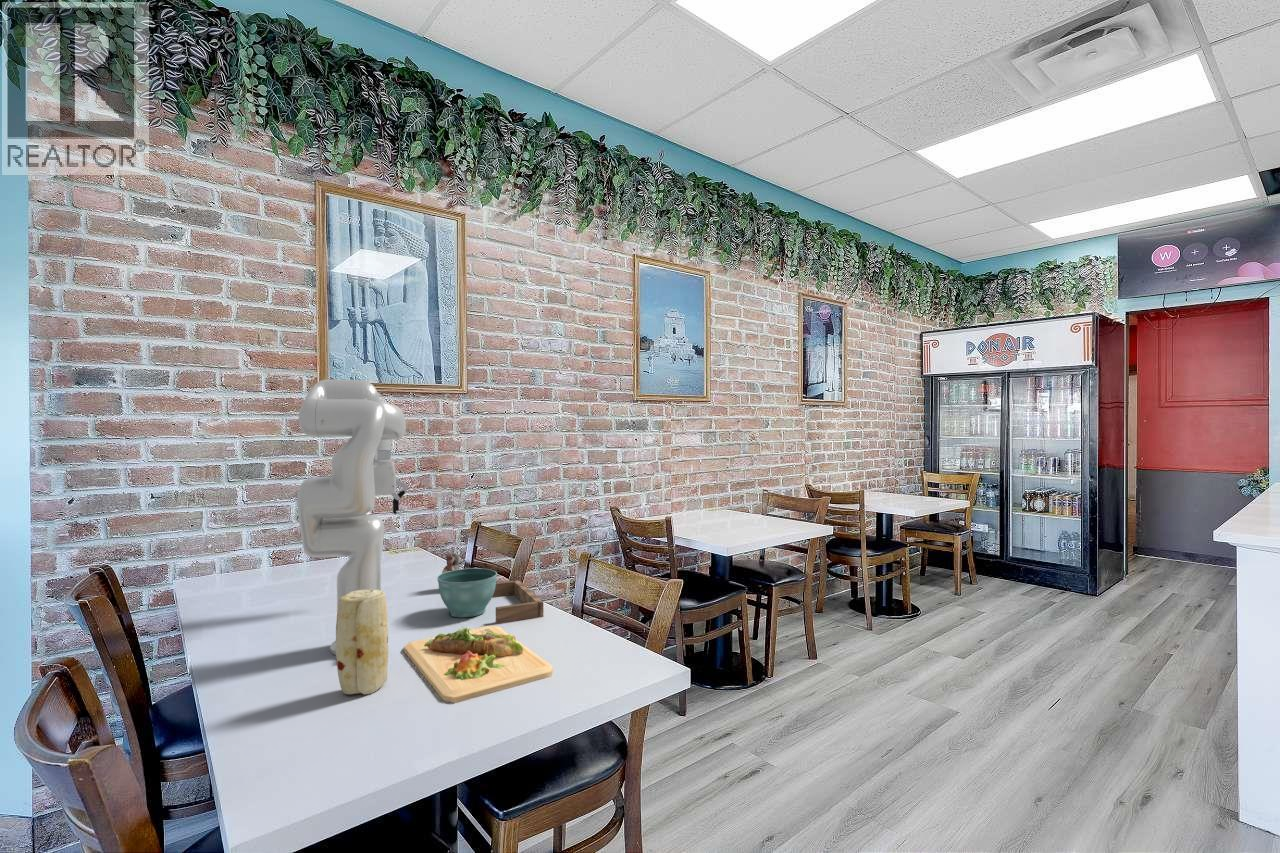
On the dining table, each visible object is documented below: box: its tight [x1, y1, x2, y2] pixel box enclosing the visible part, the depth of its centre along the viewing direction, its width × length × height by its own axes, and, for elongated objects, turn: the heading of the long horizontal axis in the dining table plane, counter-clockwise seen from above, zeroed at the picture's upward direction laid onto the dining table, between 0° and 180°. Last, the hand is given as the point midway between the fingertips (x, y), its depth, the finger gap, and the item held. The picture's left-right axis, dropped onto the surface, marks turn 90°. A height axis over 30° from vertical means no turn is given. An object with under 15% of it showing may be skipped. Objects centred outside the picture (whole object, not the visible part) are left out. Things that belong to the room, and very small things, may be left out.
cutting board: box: [403, 625, 554, 704], centre depth 133 cm, size 35×23×8 cm
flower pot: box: [436, 567, 498, 618], centre depth 167 cm, size 16×16×11 cm
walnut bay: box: [491, 579, 544, 625], centre depth 172 cm, size 26×13×4 cm, turn 27°
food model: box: [335, 590, 389, 695], centre depth 119 cm, size 10×7×20 cm
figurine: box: [441, 552, 462, 574], centre depth 190 cm, size 7×7×12 cm
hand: (377, 514), depth 175 cm, fingers open, 9 cm apart
